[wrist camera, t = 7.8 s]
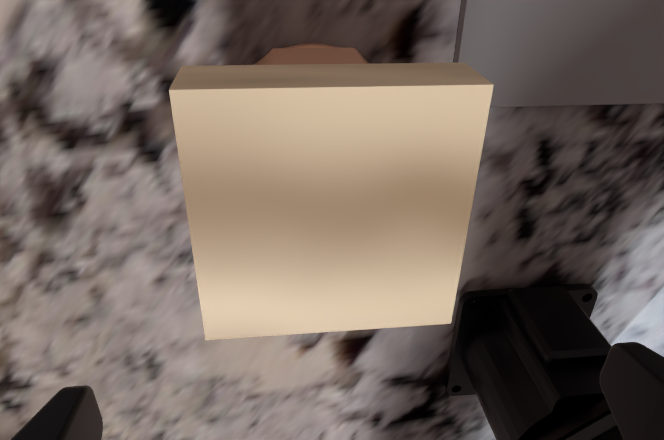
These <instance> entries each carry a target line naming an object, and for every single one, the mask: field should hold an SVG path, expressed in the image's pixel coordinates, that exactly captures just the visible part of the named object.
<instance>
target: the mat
mask: <svg viewBox="0 0 664 440" xmlns="http://www.w3.org/2000/svg"><path fill="white" fill-rule="evenodd" d="M453 63H466V64H467V65H468V66H470V67H471V68H472V69H474V70H475V71H476V72H478V73H479V74H480V75H482V76H483V77H484V78H486V79H487V80H488V81H490V82H491V83H492V84H494V86H493V92H492V97H491V103H490V107H527V106H570V105H613V104H656V103H664V0H462V1H461V9H460V16H459V24H458V31H457V38H456V46H455V53H454V61H453Z"/></svg>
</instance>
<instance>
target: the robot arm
mask: <svg viewBox="0 0 664 440" xmlns="http://www.w3.org/2000/svg"><path fill="white" fill-rule="evenodd" d="M585 294H586V295H585ZM584 295H585V296H584ZM597 295H598V294H597V292H596V290H595V289H594V288H593V287H592V286H591V285H589V284H577V285H561V286H545V287H529V288H513V289H497V290H481V291H470V292H467V293H465V294H464V295H463V296H462V297H461V299H460V302H459V307H458V313H457V318H456V324H455V329H454V335H453V340H452V346H451V351H450V357H449V362H448V368H447V373H446V379H445V388H446V391H447V393H448V394H449V395H452V396H457V395H469V394H476V395H477V397H478V399H479V401H480V404H481V406H482V408H483V411H484V413H485V415H486V417H487V420H488V422H489V424H490V426H491V429H492V431H493V433H494V435H495V438H496V440H664V357H663V356H661V355H659V354H657V353H656V352H654V351H652V350H651V349H649V348H647V347H645V346H644V345H642V344H640V343H637V342H627V343H617V344H614V345H613V346H611V345H610V343H609V342H608V341H607V340H606V338H605V337H604V336H603V335H602V333H601V332H600V331H599V330H598V328H597V327H596V326H595V325H594V323H593V322H592V321H591V320H590V316H591V313H592V310H593V308H594V305H595V302H596V299H597ZM472 301H475V302H473V303H471V304H469V303H470V302H472ZM102 431H103V422H102V416H101V413H100V410H99V407H98V404H97V401H96V398H95V395H94V392H93V390H92V388H91V387H90V386H73V387H65V388H63V389H61V390H60V391H59V392H58V393H57V394H56V395H55V396H54V397H53V398H52V399H51V400H50V401H49V402H48V403H47V404H46V405H45V406H44V407H43V408H42V409H41V410H40V411H39V412H38V413H37V414H36V415H35V416H34V417H33V418H32V419H31V420H30V421H29V422H28V423H27V424H26V425H25V426H24V427H23V428H22V429H21V430H20V431H19V432H18V433H17V434H16V435H15V436H14V437H13V438H12V439H11V440H101V438H102Z"/></svg>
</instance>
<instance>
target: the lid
mask: <svg viewBox="0 0 664 440" xmlns="http://www.w3.org/2000/svg"><path fill="white" fill-rule="evenodd" d="M493 86H494V84H492V83H491V82H490V81H488V80H487V79H486V78H484V77H483V76H482V75H480V74H479V73H478V72H476V71H475V70H474V69H472V68H471V67H470V66H468V65H467V64H466V63H382V64H297V65H211V66H181V68H180V70H179V72H178V74H177V76H176V77H175V79H174V81H173V83H172V85H171V87H170V89H169V94H170V100H171V107H172V114H173V121H174V128H175V135H176V141H177V148H178V155H179V162H180V169H181V176H182V182H183V189H184V196H185V203H186V210H187V216H188V223H189V230H190V237H191V244H192V251H193V257H194V264H195V271H196V278H197V285H198V292H199V298H200V305H201V312H202V319H203V326H204V332H205V339H206V340H214V339H229V338H244V337H259V336H274V335H289V334H304V333H319V332H334V331H349V330H363V329H378V328H393V327H408V326H423V325H438V324H451V321H452V315H453V310H454V304H455V299H456V293H457V287H458V282H459V276H460V271H461V265H462V259H463V254H464V248H465V243H466V237H467V231H468V226H469V220H470V215H471V209H472V203H473V198H474V192H475V187H476V181H477V175H478V170H479V164H480V159H481V153H482V147H483V142H484V136H485V131H486V125H487V119H488V114H489V108H490V103H491V97H492V92H493Z"/></svg>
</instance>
